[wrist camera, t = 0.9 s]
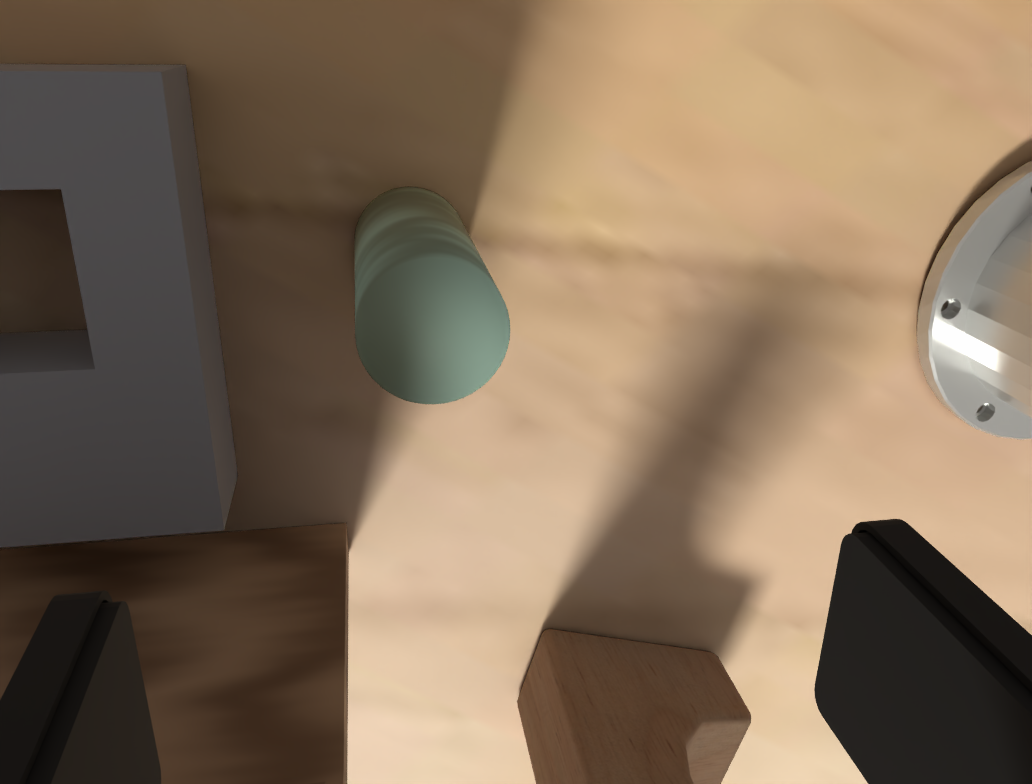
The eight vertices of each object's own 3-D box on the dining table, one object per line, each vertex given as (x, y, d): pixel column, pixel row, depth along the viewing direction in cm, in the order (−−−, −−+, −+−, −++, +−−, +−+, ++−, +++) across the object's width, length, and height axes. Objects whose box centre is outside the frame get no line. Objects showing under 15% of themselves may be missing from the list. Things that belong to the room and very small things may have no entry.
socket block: (185, 64, 28) (161, 71, 24) (237, 475, 34) (224, 530, 30) (-234, 62, 26) (-328, 69, 22) (-101, 498, 32) (-159, 559, 28)
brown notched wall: (337, 411, 34) (322, 870, 16) (348, 553, 36) (345, 1091, 18) (-183, 441, 31) (-951, 1050, 13) (-132, 593, 33) (-708, 1282, 15)
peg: (465, 186, 31) (510, 255, 22) (465, 293, 33) (509, 399, 24) (351, 188, 30) (350, 260, 21) (357, 297, 32) (359, 408, 23)
